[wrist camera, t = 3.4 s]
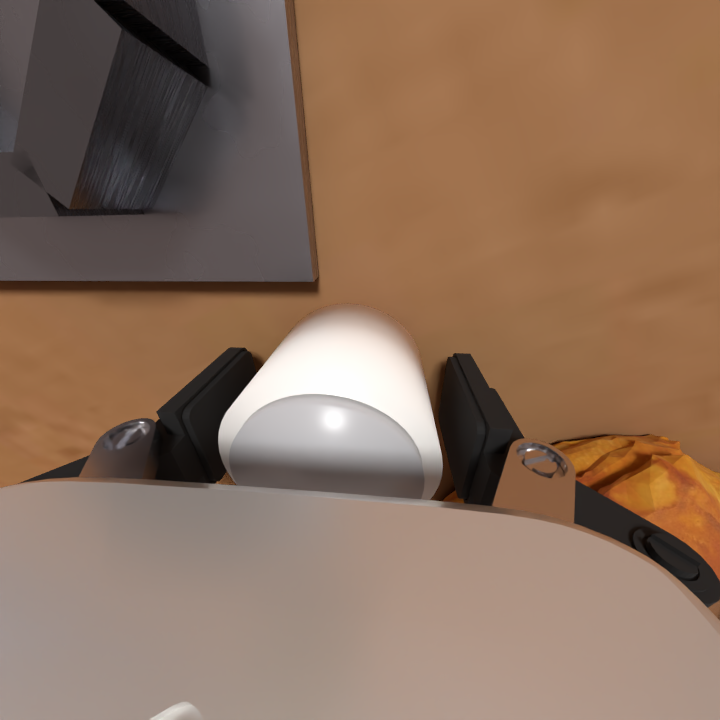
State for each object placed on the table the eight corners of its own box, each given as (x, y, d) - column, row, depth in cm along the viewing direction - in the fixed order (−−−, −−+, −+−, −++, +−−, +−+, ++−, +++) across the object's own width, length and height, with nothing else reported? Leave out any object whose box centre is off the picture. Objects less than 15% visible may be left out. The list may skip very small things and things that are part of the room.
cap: (415, 426, 13) (430, 553, 8) (292, 420, 13) (241, 535, 9) (428, 304, 10) (466, 391, 5) (270, 302, 10) (173, 380, 6)
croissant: (680, 523, 18) (902, 724, 11) (456, 586, 20) (516, 782, 13) (709, 349, 12) (1291, 554, 4) (380, 471, 14) (416, 727, 7)
